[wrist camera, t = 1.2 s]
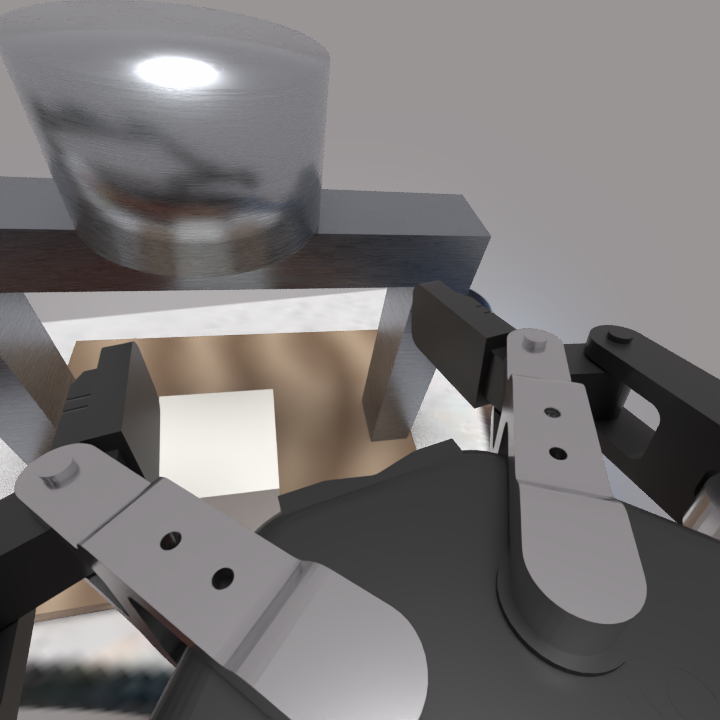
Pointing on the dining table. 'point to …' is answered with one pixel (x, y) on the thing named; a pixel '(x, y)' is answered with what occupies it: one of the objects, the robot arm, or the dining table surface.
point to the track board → (291, 406)
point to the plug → (223, 451)
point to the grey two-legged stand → (197, 191)
